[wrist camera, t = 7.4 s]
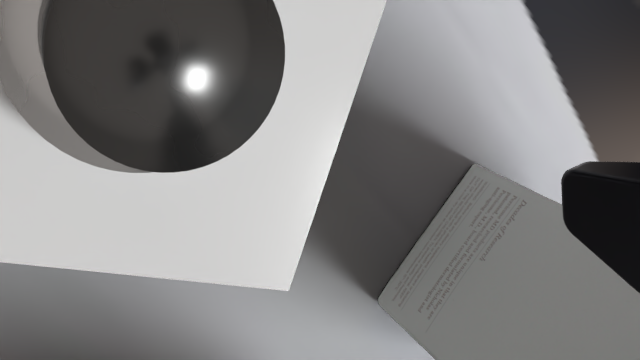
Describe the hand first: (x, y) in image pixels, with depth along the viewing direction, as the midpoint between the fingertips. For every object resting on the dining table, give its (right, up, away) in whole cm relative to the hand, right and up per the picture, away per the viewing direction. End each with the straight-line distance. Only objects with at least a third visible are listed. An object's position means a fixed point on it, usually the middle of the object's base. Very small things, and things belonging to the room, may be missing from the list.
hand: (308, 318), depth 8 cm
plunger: (-6, +7, +9) cm, 13 cm away
